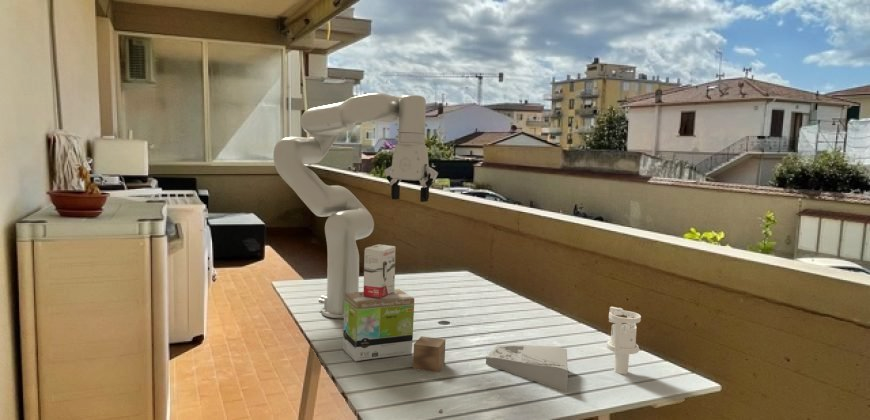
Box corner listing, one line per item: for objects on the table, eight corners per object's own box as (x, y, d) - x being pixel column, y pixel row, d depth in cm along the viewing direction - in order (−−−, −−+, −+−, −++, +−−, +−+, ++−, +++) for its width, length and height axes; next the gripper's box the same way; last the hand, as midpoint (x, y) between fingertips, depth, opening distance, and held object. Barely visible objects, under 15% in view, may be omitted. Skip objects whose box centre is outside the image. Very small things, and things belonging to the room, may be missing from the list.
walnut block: (413, 369, 128) (413, 344, 128) (420, 360, 134) (421, 336, 134) (438, 372, 127) (439, 347, 126) (444, 363, 133) (445, 339, 132)
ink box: (380, 299, 133) (382, 250, 132) (362, 296, 134) (363, 248, 133) (395, 291, 141) (396, 245, 140) (377, 289, 142) (378, 243, 141)
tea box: (355, 363, 131) (356, 301, 129) (342, 349, 140) (343, 292, 138) (413, 354, 138) (415, 296, 136) (397, 342, 147) (398, 287, 145)
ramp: (469, 355, 140) (470, 334, 139) (520, 347, 147) (521, 327, 147) (540, 400, 115) (542, 375, 115) (597, 387, 123) (598, 363, 122)
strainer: (612, 363, 136) (616, 303, 135) (641, 371, 132) (645, 309, 130) (600, 371, 131) (604, 309, 129) (630, 380, 126) (634, 315, 125)
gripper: (378, 139, 158) (377, 199, 160) (431, 139, 150) (429, 203, 151) (393, 140, 165) (392, 197, 166) (444, 141, 156) (442, 201, 158)
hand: (409, 200), depth 159 cm, fingers open, 9 cm apart
